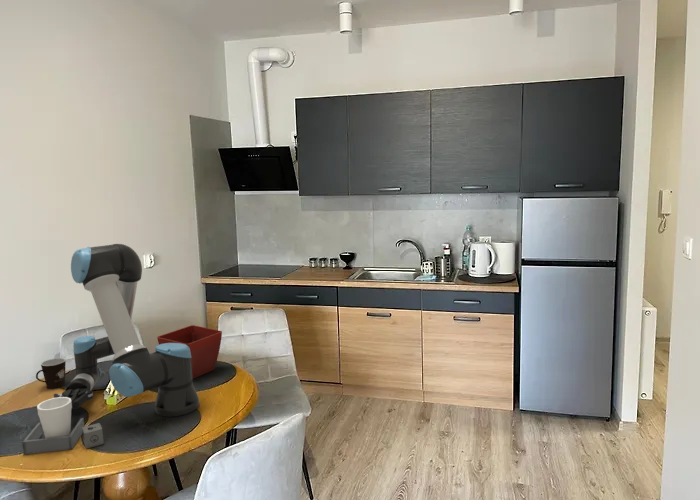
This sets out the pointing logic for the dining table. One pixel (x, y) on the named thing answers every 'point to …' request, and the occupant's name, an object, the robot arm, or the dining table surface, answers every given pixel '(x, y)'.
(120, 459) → the dining table surface
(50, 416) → the foam cup
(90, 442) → the grey cube
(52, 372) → the coffee mug
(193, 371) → the plant pot
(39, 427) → the tray
